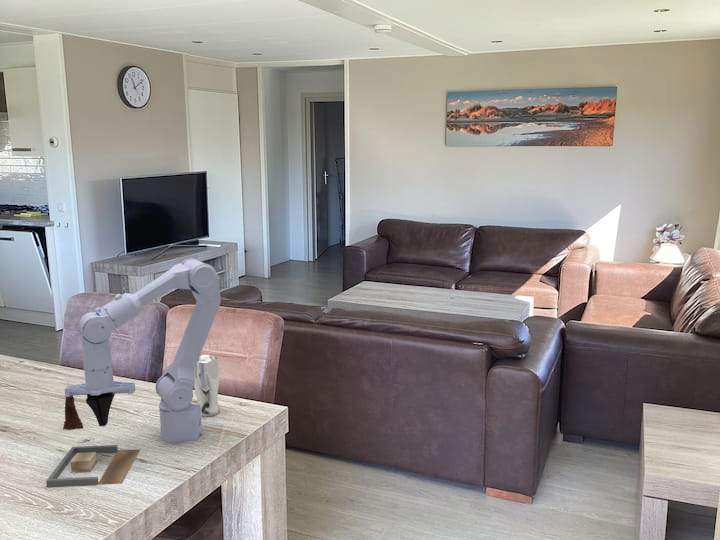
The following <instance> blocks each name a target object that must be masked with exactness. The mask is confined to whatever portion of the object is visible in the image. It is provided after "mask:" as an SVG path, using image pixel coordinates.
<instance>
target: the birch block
mask: <svg viewBox="0 0 720 540" xmlns="http://www.w3.org/2000/svg"><path fill="white" fill-rule="evenodd" d="M97 463H98V461H97V453H96V452H87V453H77V454H75V455H74V456H73V457H72V459H71V460H70V470H71V473H85V472H86V473H88V472H92V470H93V469H94V467H95V466H96V465H97Z"/></svg>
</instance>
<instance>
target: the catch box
mask: <svg viewBox="0 0 720 540" xmlns="http://www.w3.org/2000/svg"><path fill="white" fill-rule="evenodd" d="M118 450H119V446H118V444H109V445H108V444H107V445H88V446H86V445H85V446H72V447H71V448H70V449H69V451H68V452H67V453H66V454H65V455H64V457H63V458H62V459H61V461H59V464H58V465H57V466H56V467H55V469H54V470H53V472H51V474H50V475H49V477H48V478H47V480H46V482H45V483H46V487H47V488H56V487H74V486H75V487H77V486H78V487H79V486H98V485H97V484H98V482H99V477H98V476H89V477H88V476H87V477H85V476H84V477H66V478H65V477H63V478H60V477H59V476H60V475H61V474H62V472H63V471H64V470H65V468H67V466H68V465H69V463H71V461H72V459H73V458H74V456H75V455H76V454H77V453H87V452H96V454H100V453H101V454H103V453H107V454H108V453H117V451H118Z"/></svg>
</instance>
